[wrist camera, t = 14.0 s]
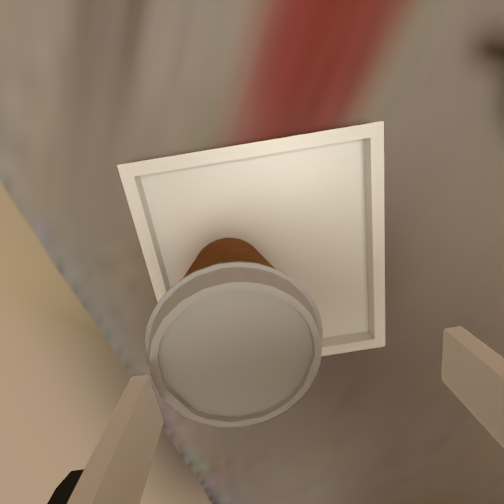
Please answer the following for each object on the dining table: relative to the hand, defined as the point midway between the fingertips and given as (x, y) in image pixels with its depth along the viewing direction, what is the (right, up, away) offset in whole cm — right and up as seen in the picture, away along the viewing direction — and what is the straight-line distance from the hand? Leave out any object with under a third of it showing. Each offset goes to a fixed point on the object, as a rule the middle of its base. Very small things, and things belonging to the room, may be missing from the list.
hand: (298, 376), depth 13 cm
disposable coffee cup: (-4, +4, +13) cm, 14 cm away
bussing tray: (-1, +5, +14) cm, 15 cm away
